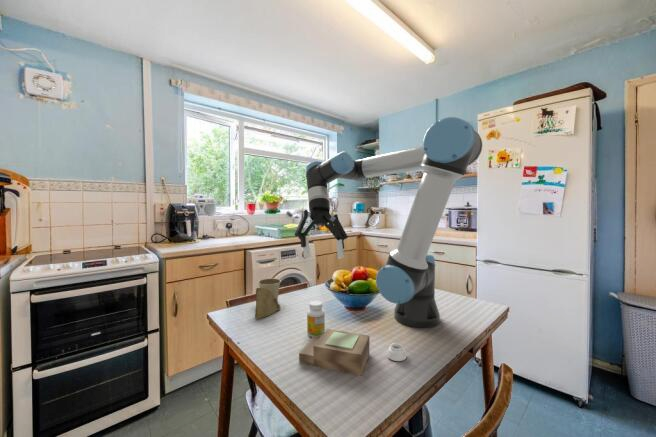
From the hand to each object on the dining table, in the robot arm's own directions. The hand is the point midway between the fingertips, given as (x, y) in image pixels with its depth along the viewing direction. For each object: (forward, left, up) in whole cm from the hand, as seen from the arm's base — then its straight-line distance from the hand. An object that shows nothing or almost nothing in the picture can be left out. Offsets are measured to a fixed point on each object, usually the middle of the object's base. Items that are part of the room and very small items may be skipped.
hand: (324, 257), depth 93 cm
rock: (+23, 0, -22) cm, 32 cm away
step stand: (-11, +20, -22) cm, 32 cm away
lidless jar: (-25, +14, -23) cm, 37 cm away
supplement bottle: (0, +9, -22) cm, 24 cm away
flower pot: (+29, -11, -22) cm, 38 cm away
